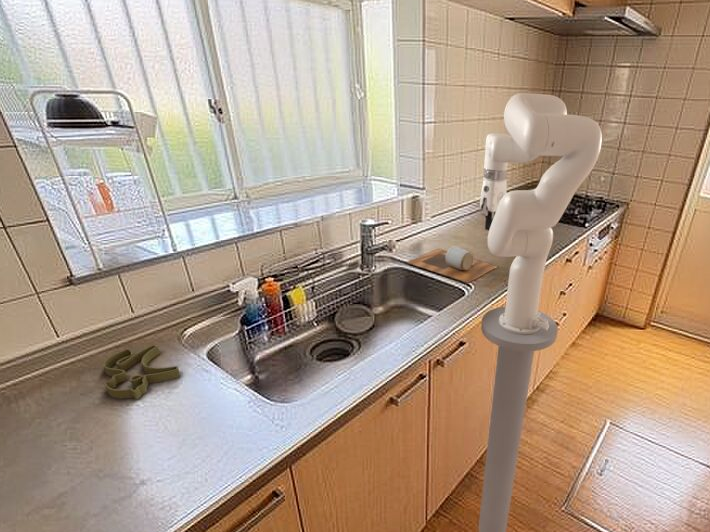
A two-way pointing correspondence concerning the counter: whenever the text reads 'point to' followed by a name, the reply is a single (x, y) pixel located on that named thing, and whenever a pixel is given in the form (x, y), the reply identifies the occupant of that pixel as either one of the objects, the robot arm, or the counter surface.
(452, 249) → the ceramic mug
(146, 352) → the cookie cutter
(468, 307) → the counter surface
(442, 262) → the wooden cutting board
